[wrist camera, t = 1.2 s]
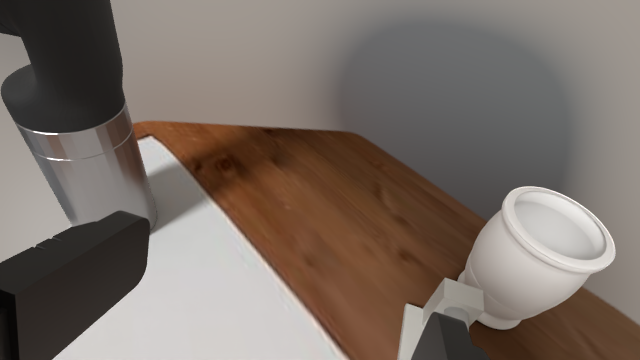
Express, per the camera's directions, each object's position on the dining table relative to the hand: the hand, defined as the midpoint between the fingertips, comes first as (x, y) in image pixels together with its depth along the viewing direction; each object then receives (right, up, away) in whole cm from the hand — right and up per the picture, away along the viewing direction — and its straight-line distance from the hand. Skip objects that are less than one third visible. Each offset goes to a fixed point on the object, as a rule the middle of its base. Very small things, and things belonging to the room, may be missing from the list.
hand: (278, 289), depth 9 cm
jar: (+23, -12, +35) cm, 43 cm away
